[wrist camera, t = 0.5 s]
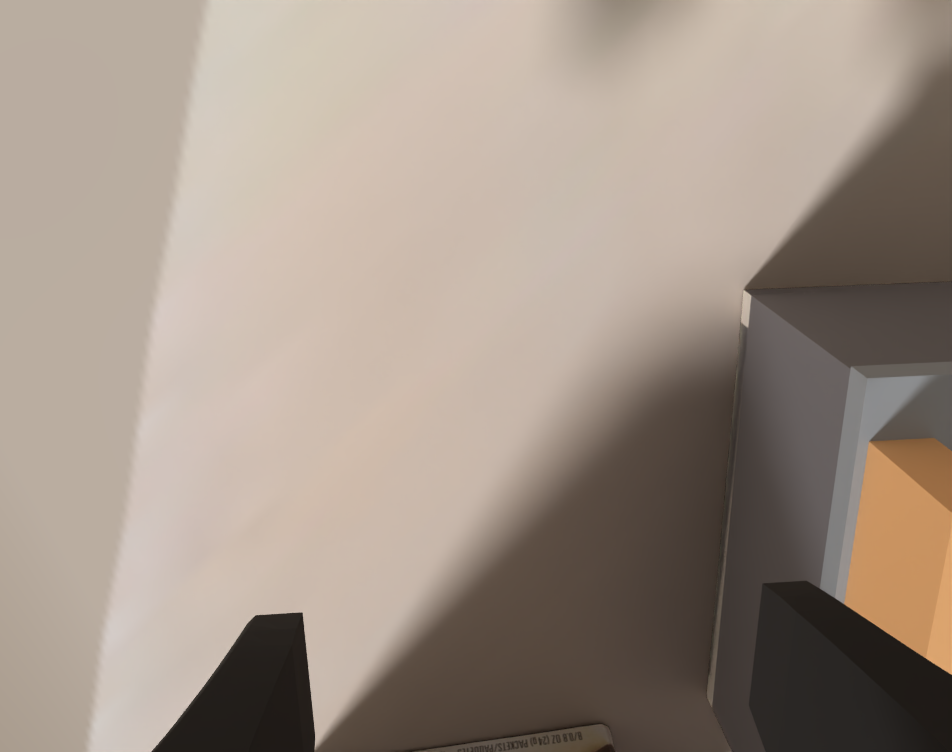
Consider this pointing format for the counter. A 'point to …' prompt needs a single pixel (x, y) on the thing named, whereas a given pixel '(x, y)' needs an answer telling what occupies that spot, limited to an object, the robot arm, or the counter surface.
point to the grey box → (797, 449)
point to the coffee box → (544, 742)
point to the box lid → (896, 505)
